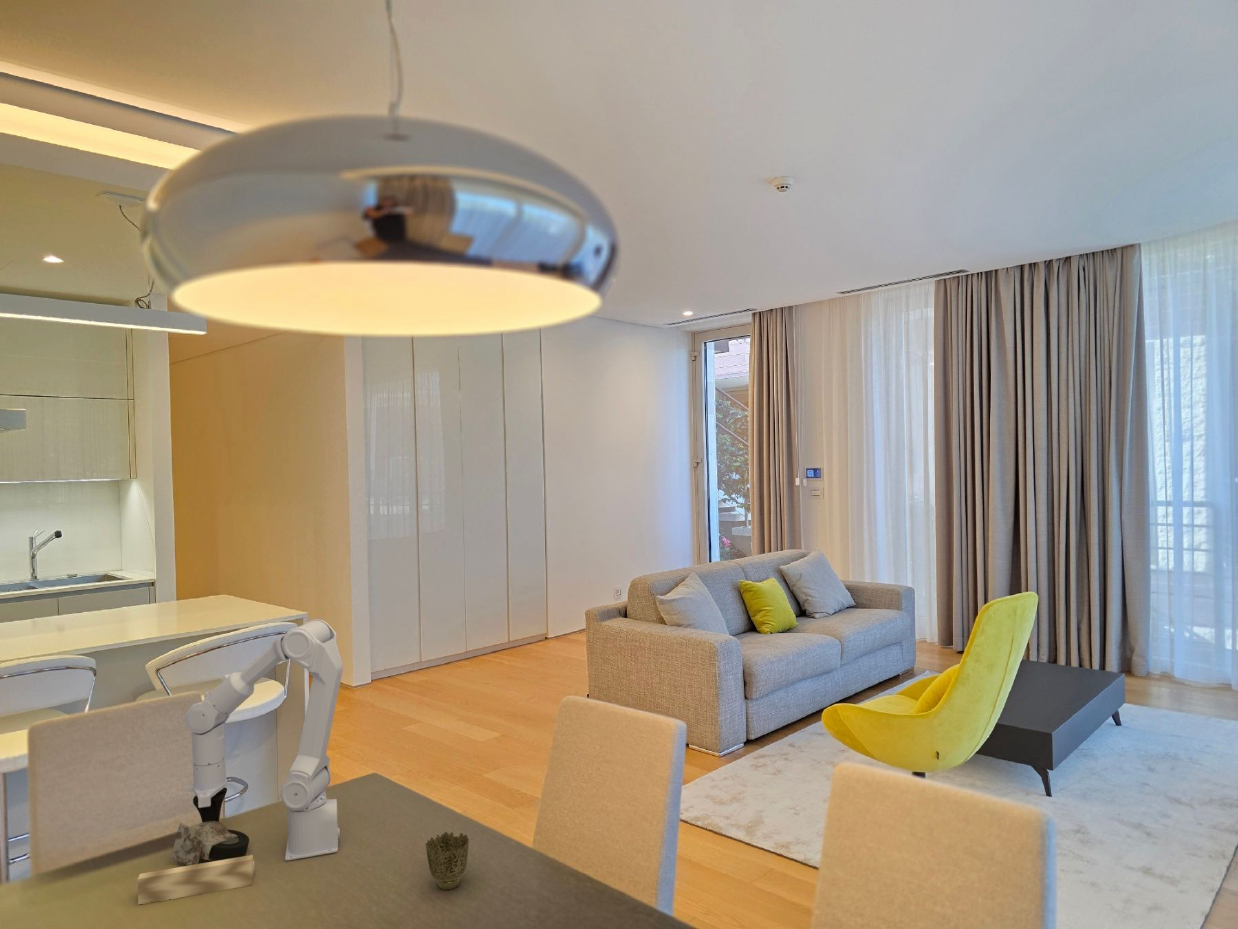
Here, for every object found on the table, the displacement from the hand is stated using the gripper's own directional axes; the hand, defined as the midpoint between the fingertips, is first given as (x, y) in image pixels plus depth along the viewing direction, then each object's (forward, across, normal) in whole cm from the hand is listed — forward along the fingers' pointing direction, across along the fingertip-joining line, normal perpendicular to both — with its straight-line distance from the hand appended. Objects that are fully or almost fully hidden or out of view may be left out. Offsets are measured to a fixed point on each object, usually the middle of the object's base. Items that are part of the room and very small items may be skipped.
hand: (211, 830), depth 161 cm
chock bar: (+4, +16, 0) cm, 17 cm away
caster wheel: (+4, +4, +1) cm, 6 cm away
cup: (+4, +32, +42) cm, 53 cm away
